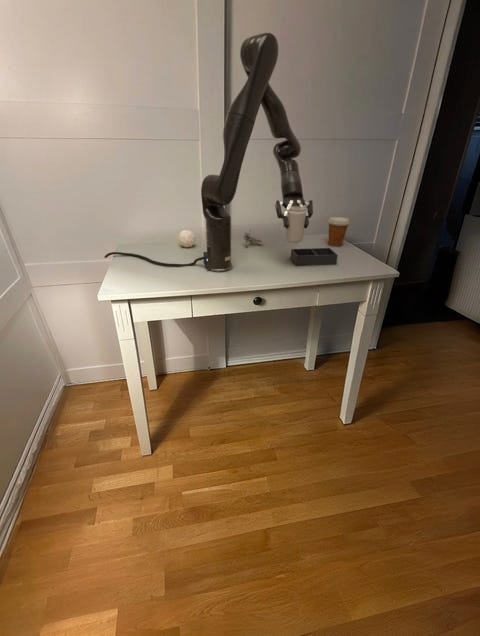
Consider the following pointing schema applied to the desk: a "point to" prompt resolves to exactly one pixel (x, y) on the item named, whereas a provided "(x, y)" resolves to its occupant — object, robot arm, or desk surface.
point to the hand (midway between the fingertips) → (296, 227)
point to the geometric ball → (187, 238)
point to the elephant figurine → (251, 239)
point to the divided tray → (313, 256)
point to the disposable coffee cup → (337, 230)
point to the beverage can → (295, 224)
